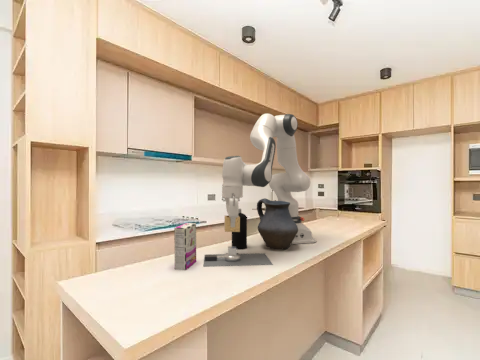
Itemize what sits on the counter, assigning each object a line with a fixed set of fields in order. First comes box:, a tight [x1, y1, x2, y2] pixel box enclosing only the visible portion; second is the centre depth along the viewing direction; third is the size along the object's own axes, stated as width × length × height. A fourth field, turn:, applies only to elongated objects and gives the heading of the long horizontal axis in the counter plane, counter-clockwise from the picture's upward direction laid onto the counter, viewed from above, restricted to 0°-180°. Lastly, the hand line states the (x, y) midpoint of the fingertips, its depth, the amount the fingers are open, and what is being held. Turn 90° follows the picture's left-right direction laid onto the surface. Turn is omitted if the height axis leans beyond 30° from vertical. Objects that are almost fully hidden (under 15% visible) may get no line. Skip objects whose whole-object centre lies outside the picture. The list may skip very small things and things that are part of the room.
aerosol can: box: [231, 208, 248, 251], centre depth 132 cm, size 8×8×20 cm
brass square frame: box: [223, 215, 240, 233], centre depth 112 cm, size 6×6×6 cm
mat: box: [202, 252, 274, 268], centre depth 112 cm, size 28×17×1 cm, turn 96°
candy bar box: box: [173, 222, 197, 271], centre depth 104 cm, size 11×5×16 cm, turn 168°
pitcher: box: [256, 198, 298, 251], centre depth 134 cm, size 21×22×25 cm
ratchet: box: [204, 245, 241, 262], centre depth 111 cm, size 15×7×5 cm, turn 96°
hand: (232, 225), depth 112 cm, fingers closed on brass square frame, 6 cm apart
